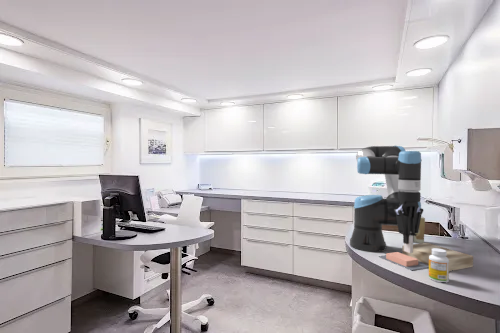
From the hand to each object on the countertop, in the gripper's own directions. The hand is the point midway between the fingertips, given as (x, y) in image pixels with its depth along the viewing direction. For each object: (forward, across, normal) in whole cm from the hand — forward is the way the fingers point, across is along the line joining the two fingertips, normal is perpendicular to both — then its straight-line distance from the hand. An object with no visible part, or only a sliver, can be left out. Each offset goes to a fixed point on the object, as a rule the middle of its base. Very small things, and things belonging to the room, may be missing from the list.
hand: (408, 251), depth 106 cm
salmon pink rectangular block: (+1, -3, 0) cm, 4 cm away
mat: (+4, -2, 0) cm, 4 cm away
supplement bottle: (+4, -5, -16) cm, 17 cm away
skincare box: (+4, +28, +19) cm, 34 cm away
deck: (+4, +11, -3) cm, 12 cm away
